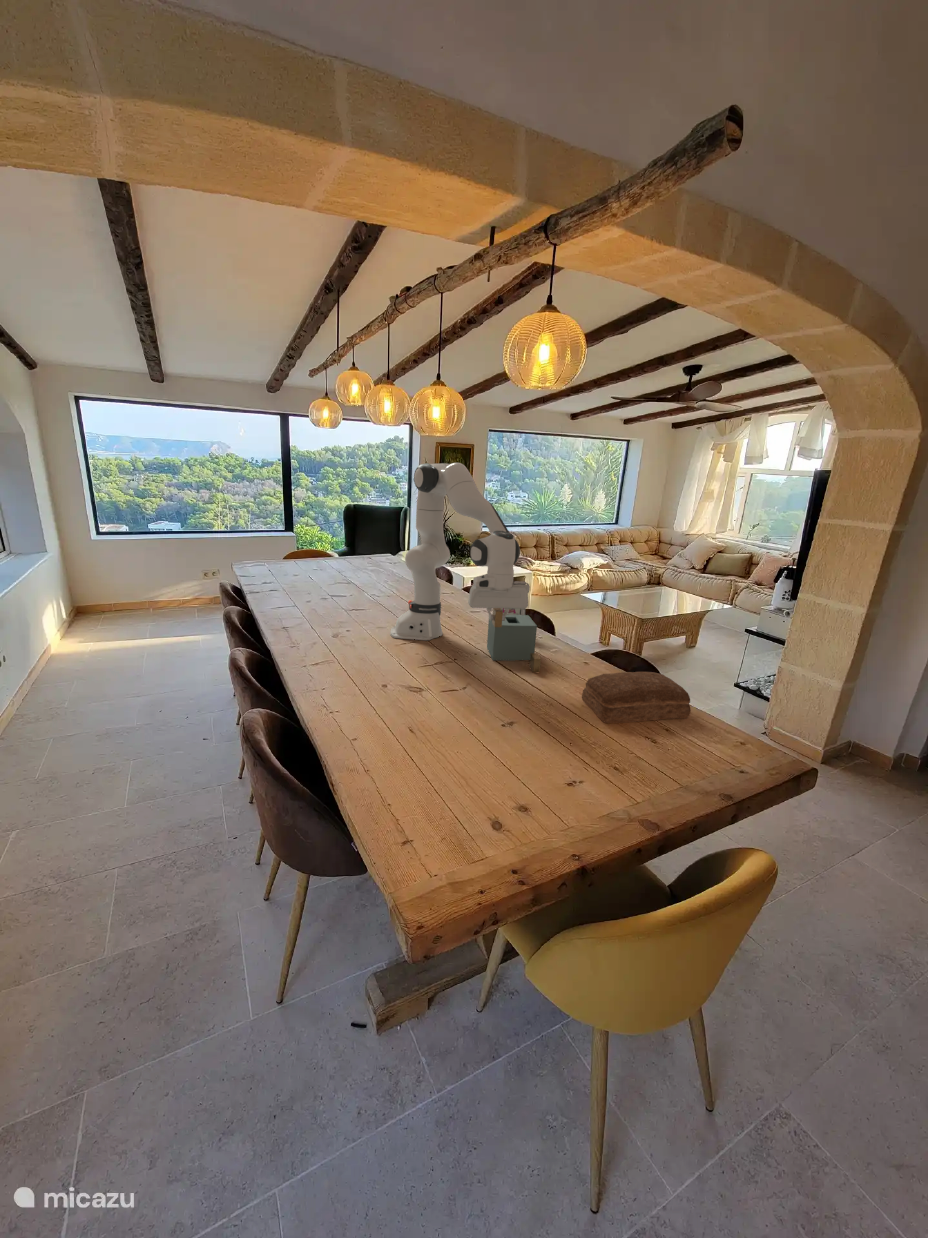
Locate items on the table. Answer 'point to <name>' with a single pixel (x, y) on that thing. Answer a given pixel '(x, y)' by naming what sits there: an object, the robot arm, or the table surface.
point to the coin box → (512, 638)
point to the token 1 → (497, 617)
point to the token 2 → (535, 662)
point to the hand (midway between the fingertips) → (496, 620)
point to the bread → (635, 697)
